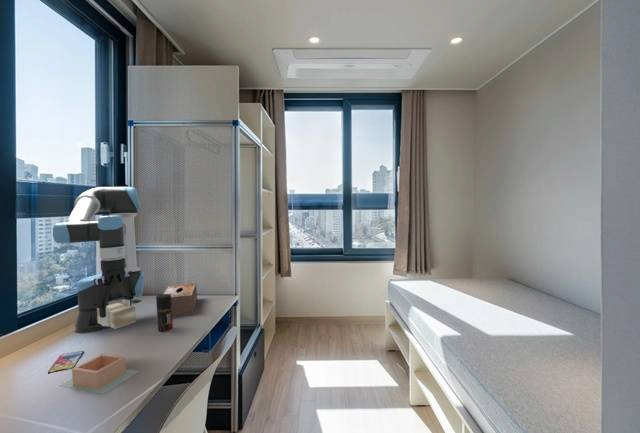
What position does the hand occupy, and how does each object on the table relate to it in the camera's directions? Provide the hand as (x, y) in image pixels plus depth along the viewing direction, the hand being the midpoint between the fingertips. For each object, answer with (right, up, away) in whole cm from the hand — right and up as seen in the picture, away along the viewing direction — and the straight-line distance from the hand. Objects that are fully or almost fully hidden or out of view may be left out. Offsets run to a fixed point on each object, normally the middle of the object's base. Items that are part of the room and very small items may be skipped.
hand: (116, 321), depth 117 cm
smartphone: (-17, -15, -1) cm, 23 cm away
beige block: (0, -1, 0) cm, 1 cm away
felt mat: (+3, -14, -13) cm, 20 cm away
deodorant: (+5, -12, +27) cm, 30 cm away
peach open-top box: (+3, -14, -13) cm, 20 cm away
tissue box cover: (-1, -12, +56) cm, 57 cm away
